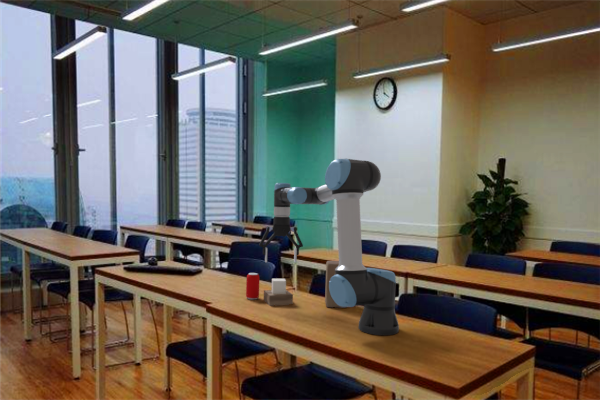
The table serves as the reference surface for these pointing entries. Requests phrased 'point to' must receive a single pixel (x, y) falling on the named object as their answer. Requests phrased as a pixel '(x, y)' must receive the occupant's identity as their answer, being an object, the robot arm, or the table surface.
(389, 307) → the robot arm
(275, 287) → the cream cube
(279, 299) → the walnut block
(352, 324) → the table surface
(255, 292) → the beverage can
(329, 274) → the wooden block
